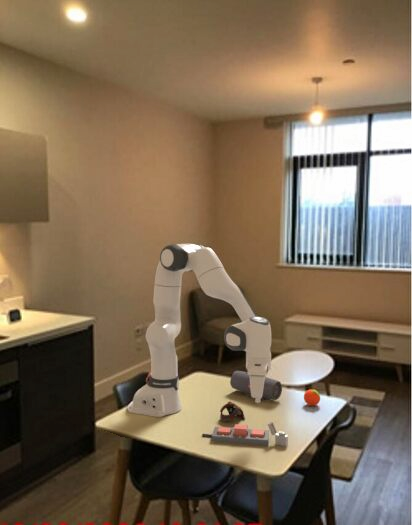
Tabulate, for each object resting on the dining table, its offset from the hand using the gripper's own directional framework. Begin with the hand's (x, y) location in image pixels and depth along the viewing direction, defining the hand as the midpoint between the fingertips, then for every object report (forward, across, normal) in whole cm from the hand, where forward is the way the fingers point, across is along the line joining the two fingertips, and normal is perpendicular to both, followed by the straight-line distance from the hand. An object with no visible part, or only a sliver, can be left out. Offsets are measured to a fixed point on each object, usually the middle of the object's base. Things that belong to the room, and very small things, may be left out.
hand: (258, 401), depth 173 cm
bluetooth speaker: (+15, -46, -4) cm, 49 cm away
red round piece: (+15, -39, +21) cm, 47 cm away
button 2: (+13, 0, -6) cm, 14 cm away
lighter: (+15, +1, +7) cm, 17 cm away
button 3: (+14, 0, 0) cm, 14 cm away
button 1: (+14, 0, -12) cm, 19 cm away
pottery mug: (+15, -18, -11) cm, 26 cm away
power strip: (+15, 0, -8) cm, 17 cm away
